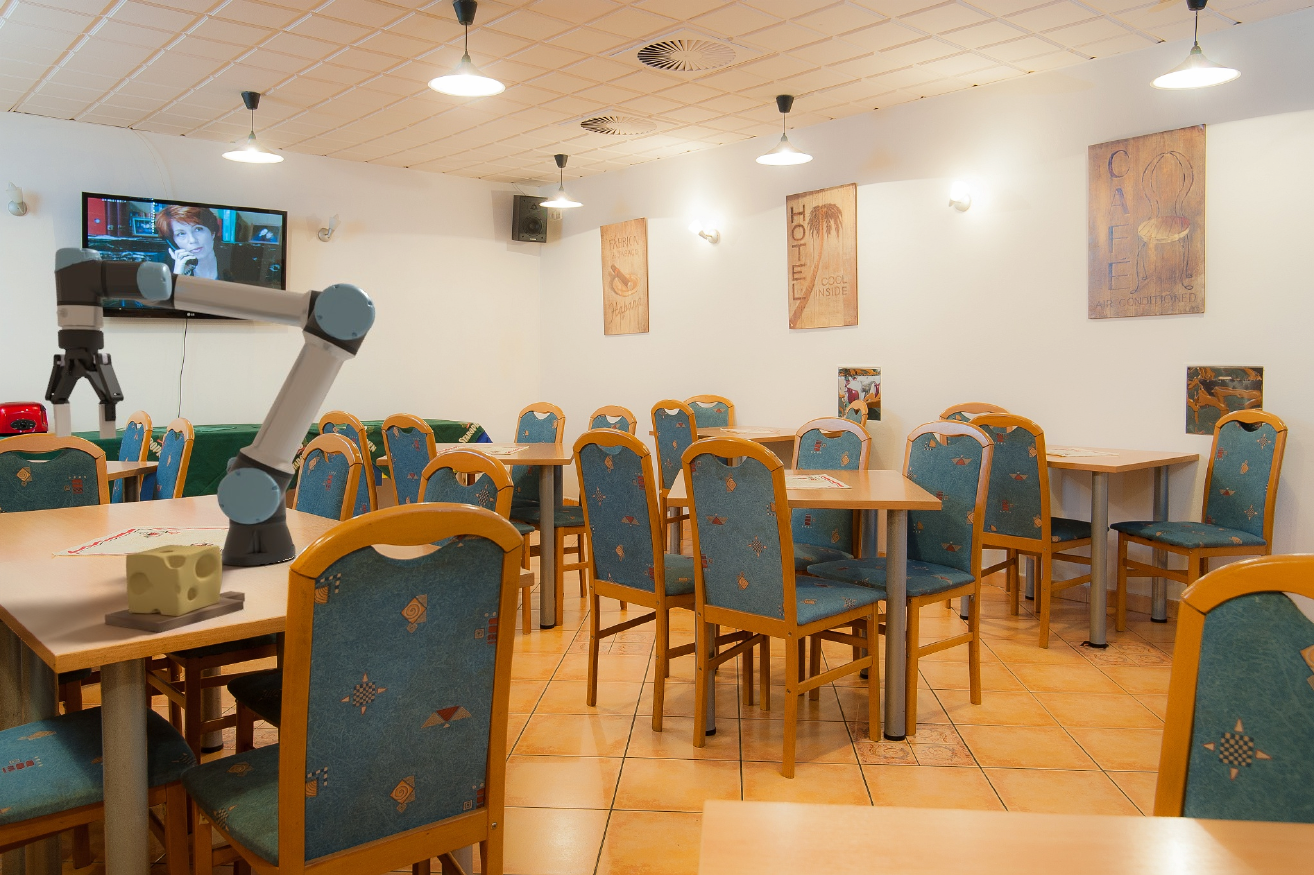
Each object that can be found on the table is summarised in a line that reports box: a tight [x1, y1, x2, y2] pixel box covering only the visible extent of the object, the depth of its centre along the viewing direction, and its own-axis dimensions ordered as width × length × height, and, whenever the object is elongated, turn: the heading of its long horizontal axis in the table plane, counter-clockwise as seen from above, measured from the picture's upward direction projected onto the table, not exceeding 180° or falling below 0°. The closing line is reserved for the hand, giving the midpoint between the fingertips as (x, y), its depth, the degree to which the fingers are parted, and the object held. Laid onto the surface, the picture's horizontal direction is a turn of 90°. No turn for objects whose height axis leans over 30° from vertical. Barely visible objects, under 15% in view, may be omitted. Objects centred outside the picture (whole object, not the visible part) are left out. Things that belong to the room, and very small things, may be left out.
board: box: [104, 590, 246, 633], centre depth 153 cm, size 20×13×2 cm, turn 156°
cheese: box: [125, 544, 223, 616], centre depth 150 cm, size 10×11×10 cm
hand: (85, 438), depth 175 cm, fingers open, 13 cm apart
